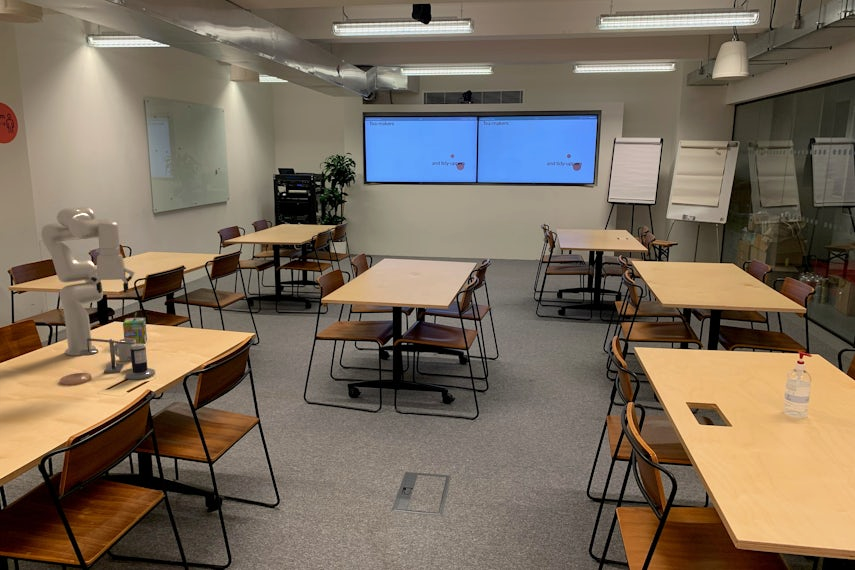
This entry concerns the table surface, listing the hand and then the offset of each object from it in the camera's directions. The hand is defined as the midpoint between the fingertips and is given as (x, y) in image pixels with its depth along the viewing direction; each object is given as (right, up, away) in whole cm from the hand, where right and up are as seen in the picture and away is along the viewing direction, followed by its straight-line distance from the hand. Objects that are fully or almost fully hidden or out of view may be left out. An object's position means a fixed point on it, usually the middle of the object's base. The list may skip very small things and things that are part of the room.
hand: (113, 292), depth 257 cm
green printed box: (-10, -25, +41) cm, 49 cm away
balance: (-1, -33, +4) cm, 33 cm away
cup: (-3, -31, +17) cm, 35 cm away
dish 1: (-10, -36, -9) cm, 38 cm away
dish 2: (+13, -34, -2) cm, 37 cm away
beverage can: (+13, -33, -3) cm, 36 cm away
